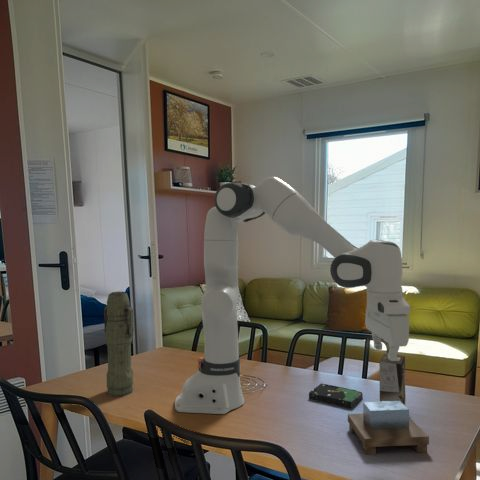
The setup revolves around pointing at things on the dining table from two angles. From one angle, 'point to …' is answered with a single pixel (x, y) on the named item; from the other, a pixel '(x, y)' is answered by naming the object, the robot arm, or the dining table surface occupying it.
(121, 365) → the thermos
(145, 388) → the dining table surface
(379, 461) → the dining table surface
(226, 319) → the robot arm
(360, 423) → the stand
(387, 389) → the coffee box
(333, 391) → the disk drive
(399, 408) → the block
